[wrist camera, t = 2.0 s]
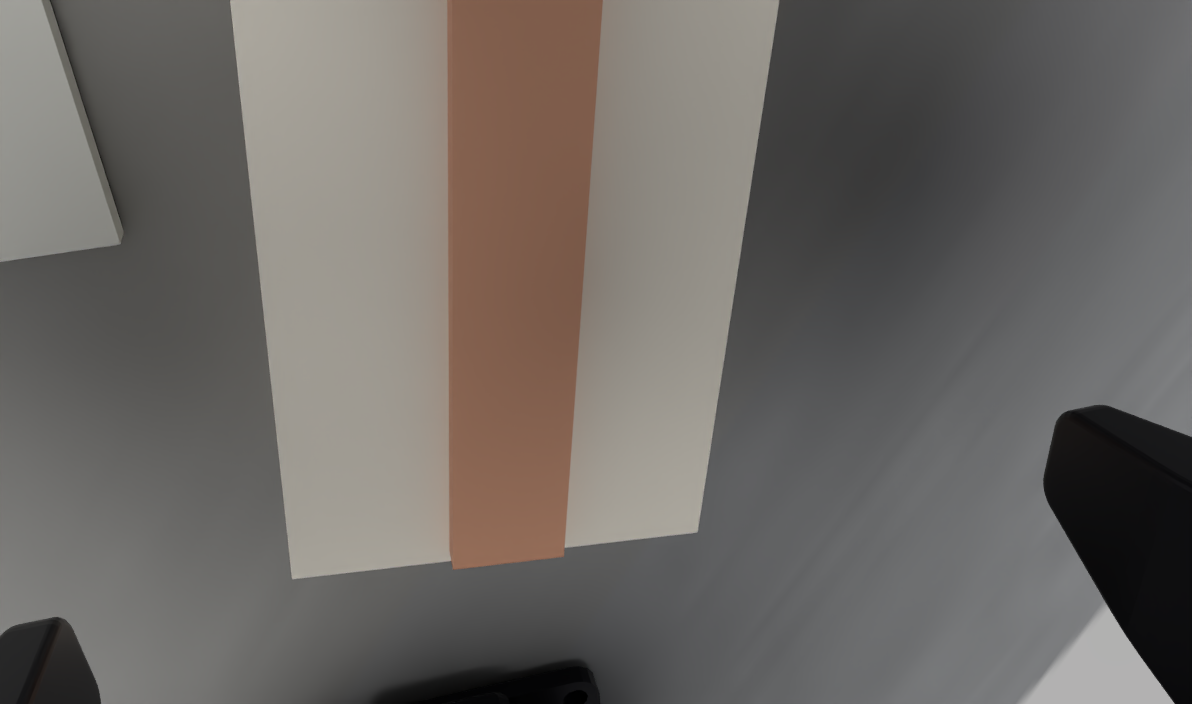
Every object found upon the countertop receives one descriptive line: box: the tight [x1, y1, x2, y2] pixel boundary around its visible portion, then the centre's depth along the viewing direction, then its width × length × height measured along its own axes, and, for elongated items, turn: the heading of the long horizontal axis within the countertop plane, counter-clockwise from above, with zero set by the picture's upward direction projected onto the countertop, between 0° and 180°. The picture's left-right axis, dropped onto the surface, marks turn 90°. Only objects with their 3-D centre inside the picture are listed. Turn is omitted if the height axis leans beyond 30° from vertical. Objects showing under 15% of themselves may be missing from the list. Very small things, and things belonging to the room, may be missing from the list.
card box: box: [230, 0, 779, 579], centre depth 15 cm, size 9×6×4 cm, turn 176°
